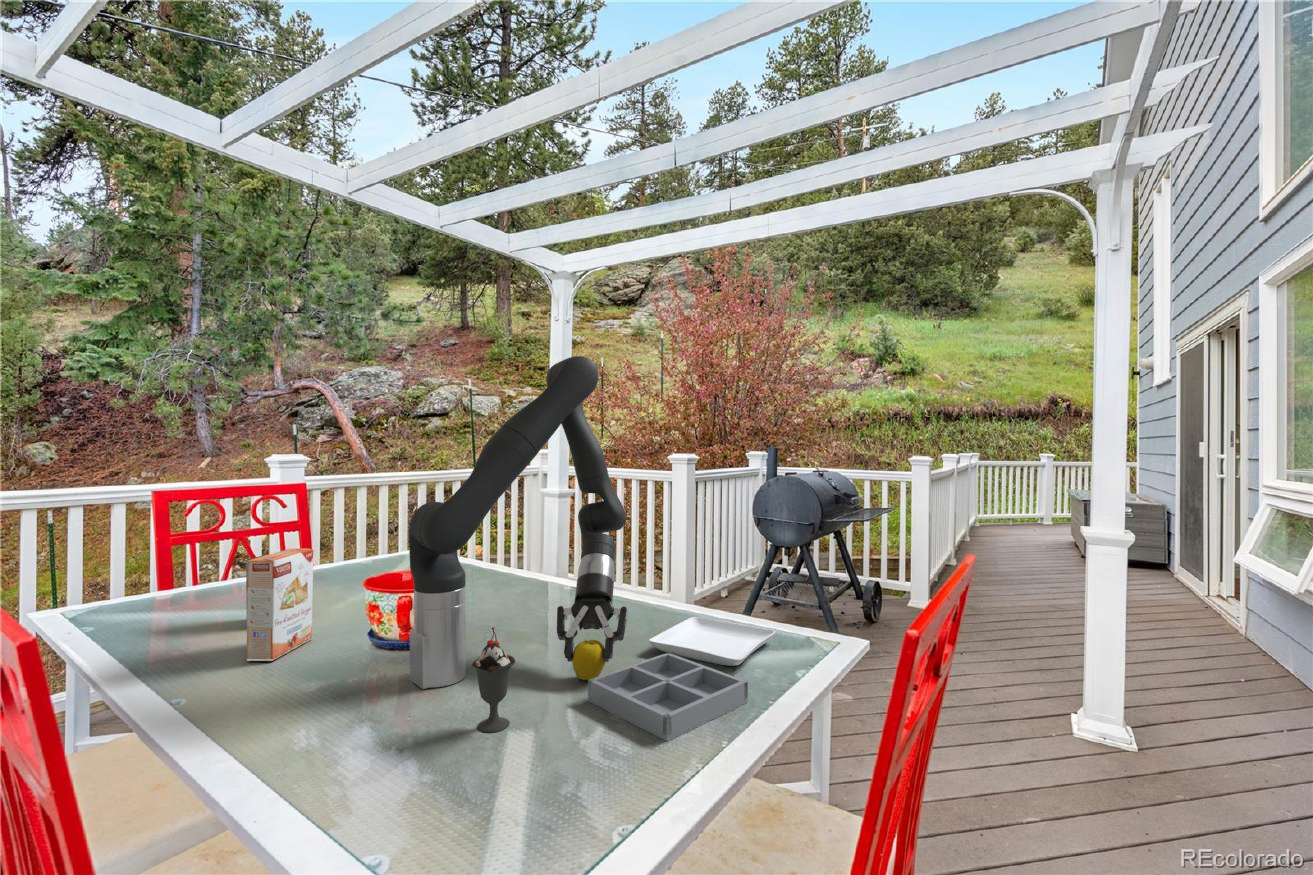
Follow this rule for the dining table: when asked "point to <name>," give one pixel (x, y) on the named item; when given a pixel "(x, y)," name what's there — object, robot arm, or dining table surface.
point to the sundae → (493, 682)
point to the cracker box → (279, 602)
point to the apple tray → (667, 694)
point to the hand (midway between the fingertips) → (587, 659)
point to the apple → (588, 659)
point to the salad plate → (712, 640)
